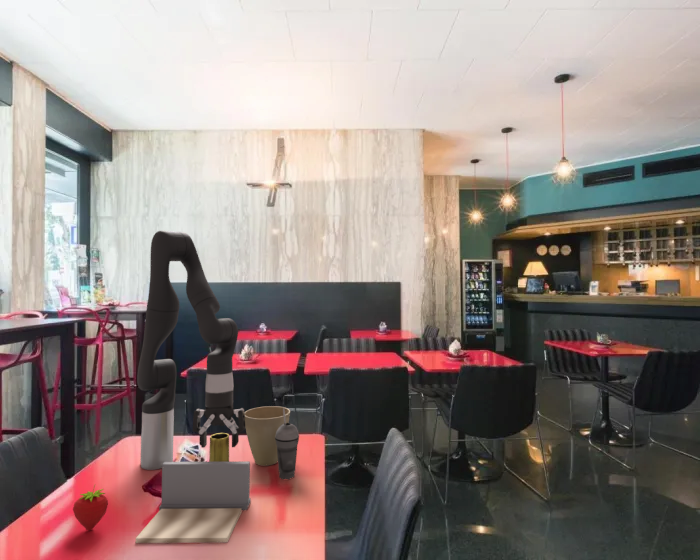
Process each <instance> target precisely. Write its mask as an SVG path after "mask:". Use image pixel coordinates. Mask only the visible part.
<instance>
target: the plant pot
mask: <svg viewBox="0 0 700 560" xmlns="http://www.w3.org/2000/svg"><path fill="white" fill-rule="evenodd" d="M283 409H285V419H286V423H290V422H289V421H290V416H291V410H290V409H289V408H287V407H284V406H279V405H278V406H274V405H273V406H272V405H271V406H270V405H269V406H267V405H266V406H260V407H254V408H250V409H248V410H246V411H245V431H246V437H247V441H248V444H249V448H250V452H251V454H252V458H253V460H254V463H255V464H256V465H257V466H260V467H261V466H262V467H263V466H264V467H267V466H272V465H274V464H278V456H277V445H276V440H275V436H276V432H277V430H278V428H279V427H280V426H281V425H282V424H284V415H283Z"/></svg>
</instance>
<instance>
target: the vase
mask: <svg viewBox="0 0 700 560" xmlns="http://www.w3.org/2000/svg"><path fill="white" fill-rule="evenodd" d="M208 462H230V434H229V433H225V432H218V433H214V434H211V435H210V436H209V461H208Z"/></svg>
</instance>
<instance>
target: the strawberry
mask: <svg viewBox="0 0 700 560" xmlns="http://www.w3.org/2000/svg"><path fill="white" fill-rule="evenodd" d="M95 487H96V484H94V485H93V490H92V491H87V493H80V494H79V496H81V497H79V498H78V499H77V500H76V501H75V502H74V504H73V507H72V511H73V515H74V517H75V519H76V520H77V521H78V523H80V525H81V526H82V527H84V528H85V530H86V531H92V530H93V529H94V528H95V527H96V525H98V523H99V522H101V520H102V518H103V517H104V515H105V513H106V512H107V508H108V505H109V499H108V497H106V496H105V494H106V492H102V491H104V488H101V489H98V490H95Z"/></svg>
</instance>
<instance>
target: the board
mask: <svg viewBox="0 0 700 560" xmlns="http://www.w3.org/2000/svg"><path fill="white" fill-rule="evenodd" d="M241 509H242V508H214V509H161V510H160V511H159V510H158V512H157V513H156V514H155V515H154V516H153V518H152V519H151V520H150V521H149V522H148V524H147V525H145V527H144V528H143V529H142V531H140V533H139V534H138V535H137V536H136V537H135V544H167V543H169V544H175V543H176V544H178V543H179V544H180V543H181V544H184V543H185V544H187V543H189V544H192V543H204V544H205V543H228V542H229V539H230V538H231V535H232V534H233V531H234V529H235V527H236V525H237V523H238V520H239V518H240V516H241V514H242V510H241Z"/></svg>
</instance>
